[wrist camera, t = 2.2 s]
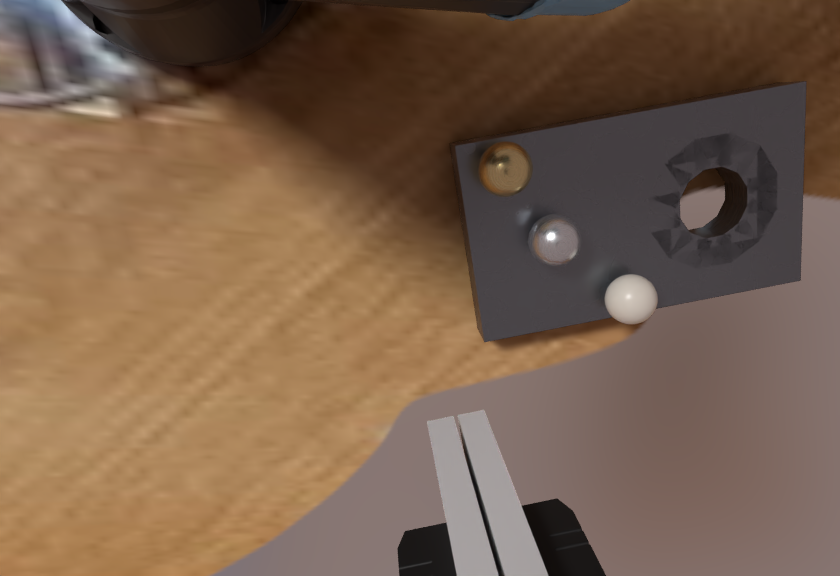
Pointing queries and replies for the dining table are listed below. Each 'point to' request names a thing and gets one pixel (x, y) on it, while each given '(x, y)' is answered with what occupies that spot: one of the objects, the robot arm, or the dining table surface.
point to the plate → (639, 207)
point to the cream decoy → (631, 299)
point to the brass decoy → (505, 169)
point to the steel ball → (555, 240)
